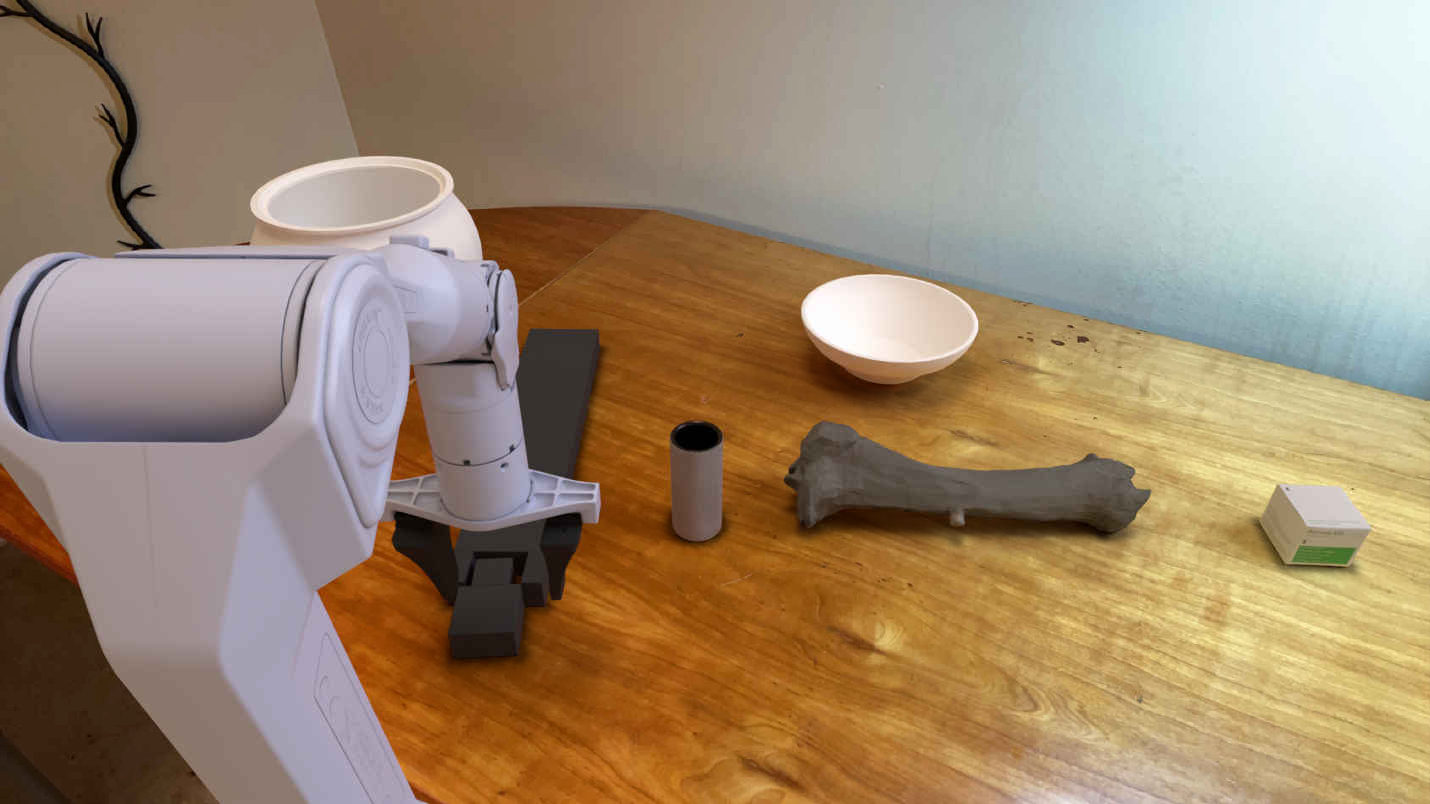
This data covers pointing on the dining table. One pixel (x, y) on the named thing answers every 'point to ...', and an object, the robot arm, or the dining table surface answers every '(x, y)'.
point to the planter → (696, 479)
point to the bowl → (888, 326)
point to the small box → (1314, 525)
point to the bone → (955, 485)
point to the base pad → (540, 447)
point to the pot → (364, 206)
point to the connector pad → (488, 612)
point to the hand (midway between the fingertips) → (504, 589)
